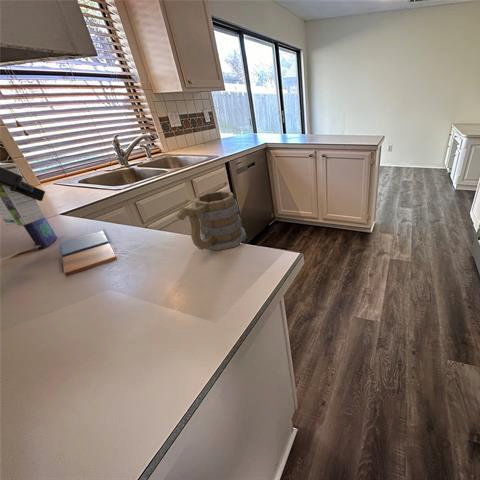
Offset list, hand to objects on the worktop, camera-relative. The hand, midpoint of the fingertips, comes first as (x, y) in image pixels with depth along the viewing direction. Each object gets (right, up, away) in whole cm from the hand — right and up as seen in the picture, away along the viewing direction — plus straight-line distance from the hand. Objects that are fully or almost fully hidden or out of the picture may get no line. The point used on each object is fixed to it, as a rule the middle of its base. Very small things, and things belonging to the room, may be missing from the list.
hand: (29, 196), depth 69 cm
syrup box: (0, -7, 0) cm, 7 cm away
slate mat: (+3, -13, +13) cm, 19 cm away
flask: (-11, -13, +15) cm, 22 cm away
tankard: (+46, -13, +9) cm, 49 cm away
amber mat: (+12, -17, +5) cm, 21 cm away
